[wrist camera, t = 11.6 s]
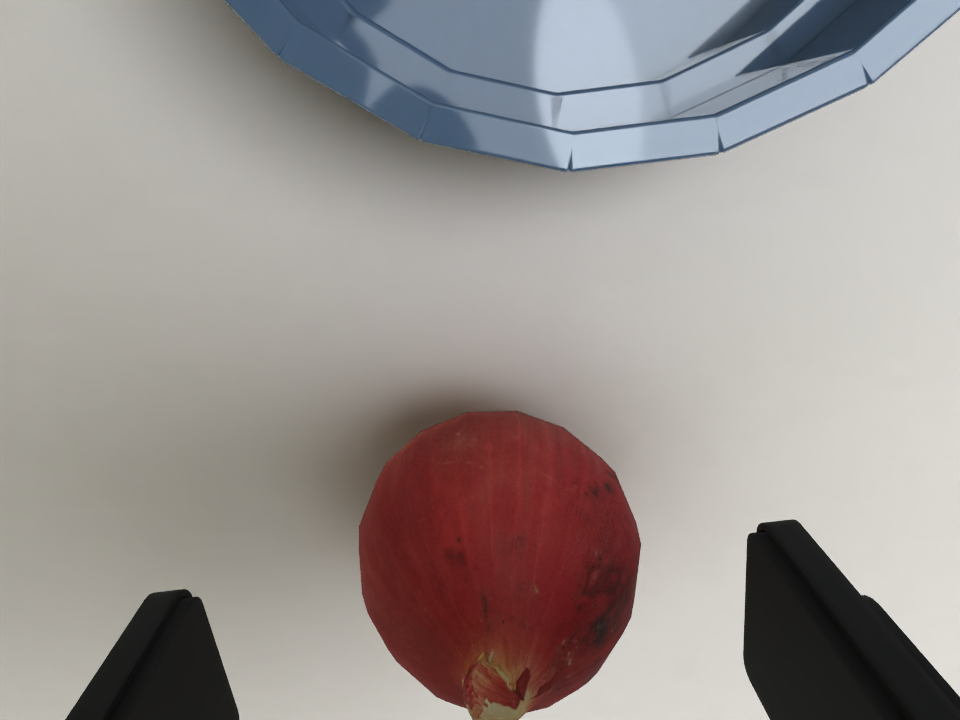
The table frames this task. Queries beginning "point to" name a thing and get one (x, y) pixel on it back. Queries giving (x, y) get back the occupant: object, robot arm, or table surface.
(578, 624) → the pomegranate
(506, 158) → the bowl
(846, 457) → the table surface
